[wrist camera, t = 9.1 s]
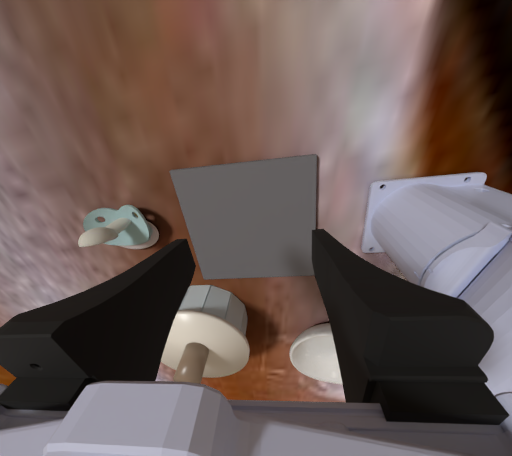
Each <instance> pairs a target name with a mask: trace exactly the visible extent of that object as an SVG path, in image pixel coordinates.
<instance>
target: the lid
mask: <svg viewBox="0 0 512 456" xmlns="http://www.w3.org/2000/svg"><path fill="white" fill-rule="evenodd" d="M249 352H250V348H249V343H248V341H247V339H246V337H245V336H244V334H243V333H242V332H241V331H240V330H239V329H238V328H237V327H236V326H234V325H233V324H231V323H230V322H228V321H226V320H225V319H223V318H220V317H218V316H216V315H213V314H209V313H206V312H201V311H194V310H178V312H177V314H176V316H175V319H174V321H173V324H172V327H171V330H170V333H169V336H168V338H167V342H166V345H165V348H164V351H163V355H162V358H161V362H162V363H164V364H165V365H167V366H169V367H171V368H173V369H175V370H176V372H175V375H174V378H173V380H174V382H191V383H198V384H200V383H201V379H202V377H223V376H228V375H231V374H234V373H236V372H238V371H240V370H241V369H242V368H243V367H244V366H245V365H246V364H247V362H248V359H249Z"/></svg>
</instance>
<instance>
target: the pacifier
mask: <svg viewBox="0 0 512 456" xmlns="http://www.w3.org/2000/svg"><path fill="white" fill-rule="evenodd" d="M98 216H101V217H104V218H105V222H100V221H98V219H97V217H98ZM83 226H84V229H85V231H86V232H84V233H83V234H82V235H81V236H80V238H79V241H78V245H79V246H80V247H88V246H94V245H98V244H102V243H105V244H109V245H119V246H121V247H125V248H129V249H143V248H147V247H150V246H152V245H153V244H155V243H156V242H157V240H158V238H159V233H158V230H157V228H156V227H155V226H154V225H153V224H152V223H150V222H148V221H146V219H145V218H144V216H143V215H142V213H141V212H140V211H139V210H138V209H137V208H136V207H134V206H132V205H125V206H122V207H121V208H120V209H119V210H115V209H111V208H101V209H97V210H94V211H92V212H90V213H89V214H88V215H87V216H86V217H85V219H84V222H83ZM149 237H150V238H149Z"/></svg>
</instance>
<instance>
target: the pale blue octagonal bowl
mask: <svg viewBox="0 0 512 456" xmlns="http://www.w3.org/2000/svg"><path fill="white" fill-rule="evenodd" d="M179 310H194V311H201V312H206V313H209V314H213V315H216V316H218V317H220V318H223V319H225V320H226V321H228V322H230V323H231V324H233V325H234V326H236V327H237V328H238V329H239V330H240V331H241V332H242V333H243V334H244V336H245V335H246V328H247V320H248V318H247V313H246V308H245V306H244V304H243V303H242V302H241V301H240V300H239V299H238V298H237V297H236V296H235V295H234V294H233V293H231V292H229V291H226V290H223V289H221V288H218V287H215V286H211V285H197V286H189V288H188V290H187V292H186V294H185V297H184V299H183V301H182V303H181V305H180V307H179Z"/></svg>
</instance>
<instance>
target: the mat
mask: <svg viewBox="0 0 512 456" xmlns="http://www.w3.org/2000/svg"><path fill="white" fill-rule="evenodd" d="M316 170H317V155H316V154H312V155H303V156H294V157H285V158H276V159H267V160H258V161H249V162H240V163H231V164H221V165H212V166H203V167H194V168H185V169H176V170H171V171H170V174H171V178H172V181H173V184H174V187H175V190H176V193H177V196H178V199H179V203H180V206H181V209H182V212H183V215H184V218H185V221H186V225H187V228H188V231H189V234H190V237H191V240H192V243H193V247H194V250H195V253H196V256H197V259H198V262H199V265H200V269H201V272H202V275H203V278H204V279H228V278H256V277H284V276H312V275H315V274H314V269H313V264H312V230H316Z"/></svg>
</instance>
